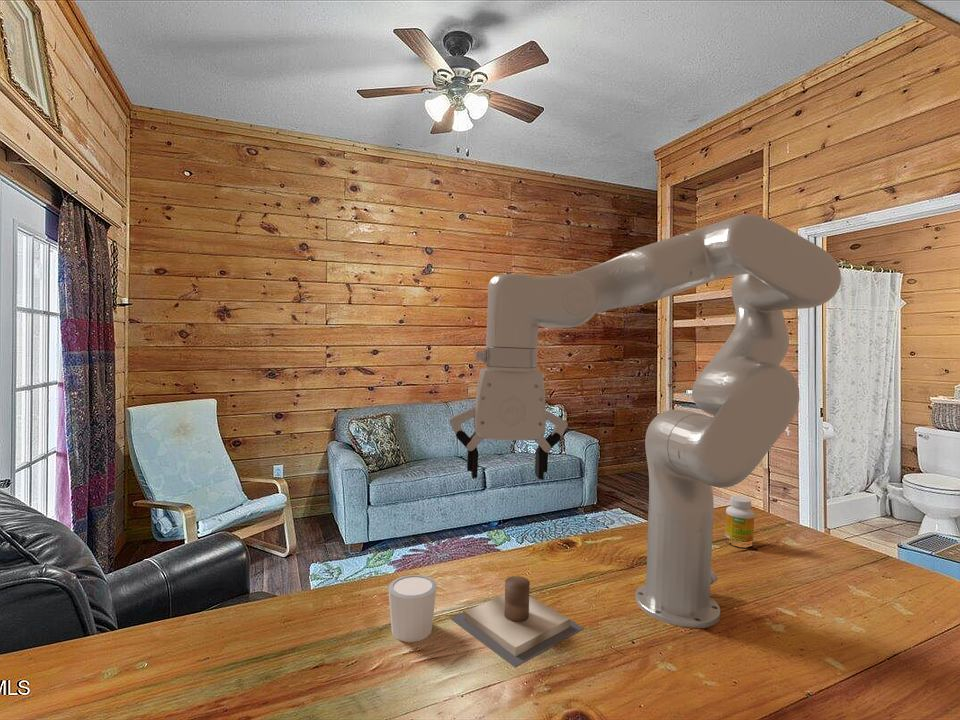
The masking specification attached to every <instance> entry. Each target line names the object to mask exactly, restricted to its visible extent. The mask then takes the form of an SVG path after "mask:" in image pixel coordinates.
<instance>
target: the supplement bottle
mask: <svg viewBox="0 0 960 720" xmlns="http://www.w3.org/2000/svg"><path fill="white" fill-rule="evenodd" d="M729 504H730V505H729V506H727V507H726V508H725V509H726V510H725V525H724V526H725V527H724V537H725V536H726V537H727V538H729V539H731V540H735V541H741V542H750V541H753V542H754V534H755V533H754V532H755V531H754V530H755V512H754V511H753V510H752V509H751V507H752V499H750V498H749V497H745V496H739V495H731V496H730V497H729Z"/></svg>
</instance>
